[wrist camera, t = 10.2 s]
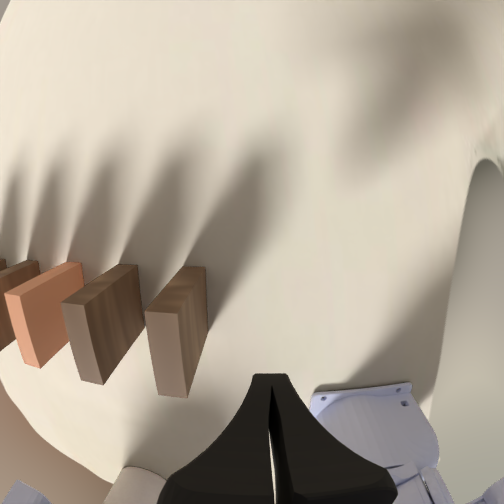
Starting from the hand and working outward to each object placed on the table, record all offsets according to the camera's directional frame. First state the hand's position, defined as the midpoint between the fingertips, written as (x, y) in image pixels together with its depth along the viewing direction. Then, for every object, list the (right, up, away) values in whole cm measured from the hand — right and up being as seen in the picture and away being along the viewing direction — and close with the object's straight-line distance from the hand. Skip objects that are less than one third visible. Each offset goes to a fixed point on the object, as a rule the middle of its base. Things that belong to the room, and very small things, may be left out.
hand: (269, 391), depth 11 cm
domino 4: (-5, +2, +9) cm, 11 cm away
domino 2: (-15, +3, +9) cm, 18 cm away
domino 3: (-10, +2, +9) cm, 14 cm away
